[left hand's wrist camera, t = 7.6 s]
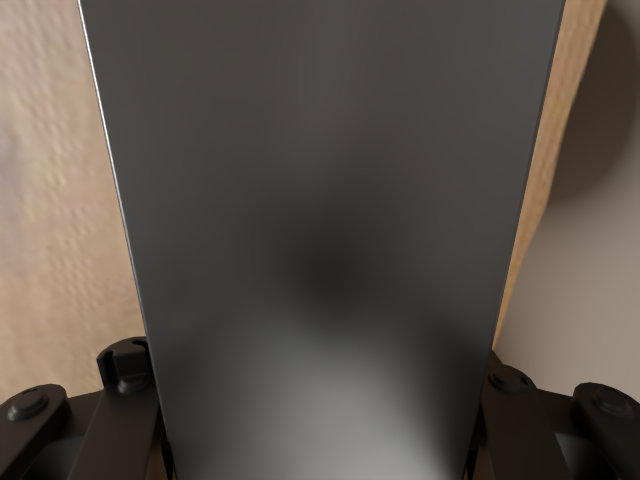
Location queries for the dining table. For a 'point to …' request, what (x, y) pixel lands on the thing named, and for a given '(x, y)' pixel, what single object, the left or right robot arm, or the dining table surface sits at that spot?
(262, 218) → the bar
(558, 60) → the dining table surface
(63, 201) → the dining table surface
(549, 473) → the left robot arm
